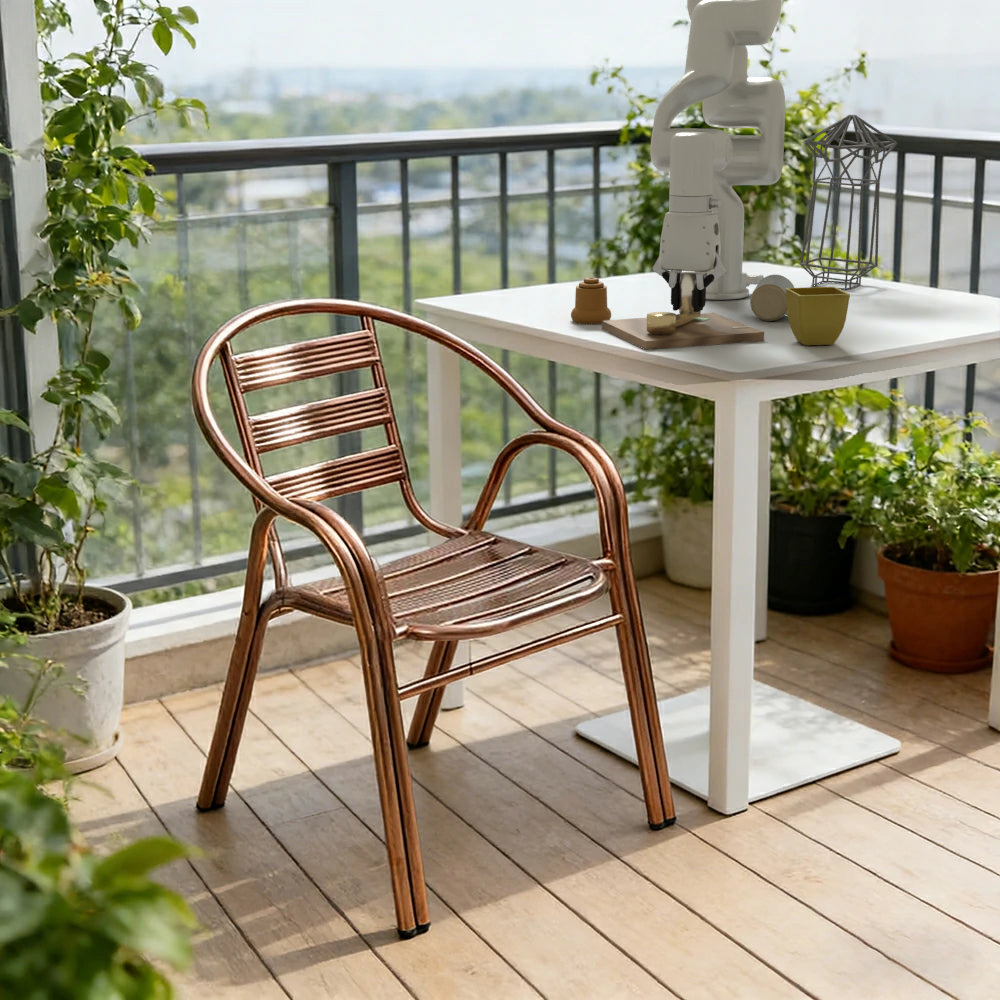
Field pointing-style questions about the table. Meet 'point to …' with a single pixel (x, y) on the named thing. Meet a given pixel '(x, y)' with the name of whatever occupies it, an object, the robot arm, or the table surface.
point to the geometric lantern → (836, 132)
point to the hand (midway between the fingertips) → (687, 309)
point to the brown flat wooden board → (684, 332)
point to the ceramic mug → (770, 297)
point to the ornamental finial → (591, 302)
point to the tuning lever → (670, 321)
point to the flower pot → (817, 314)
